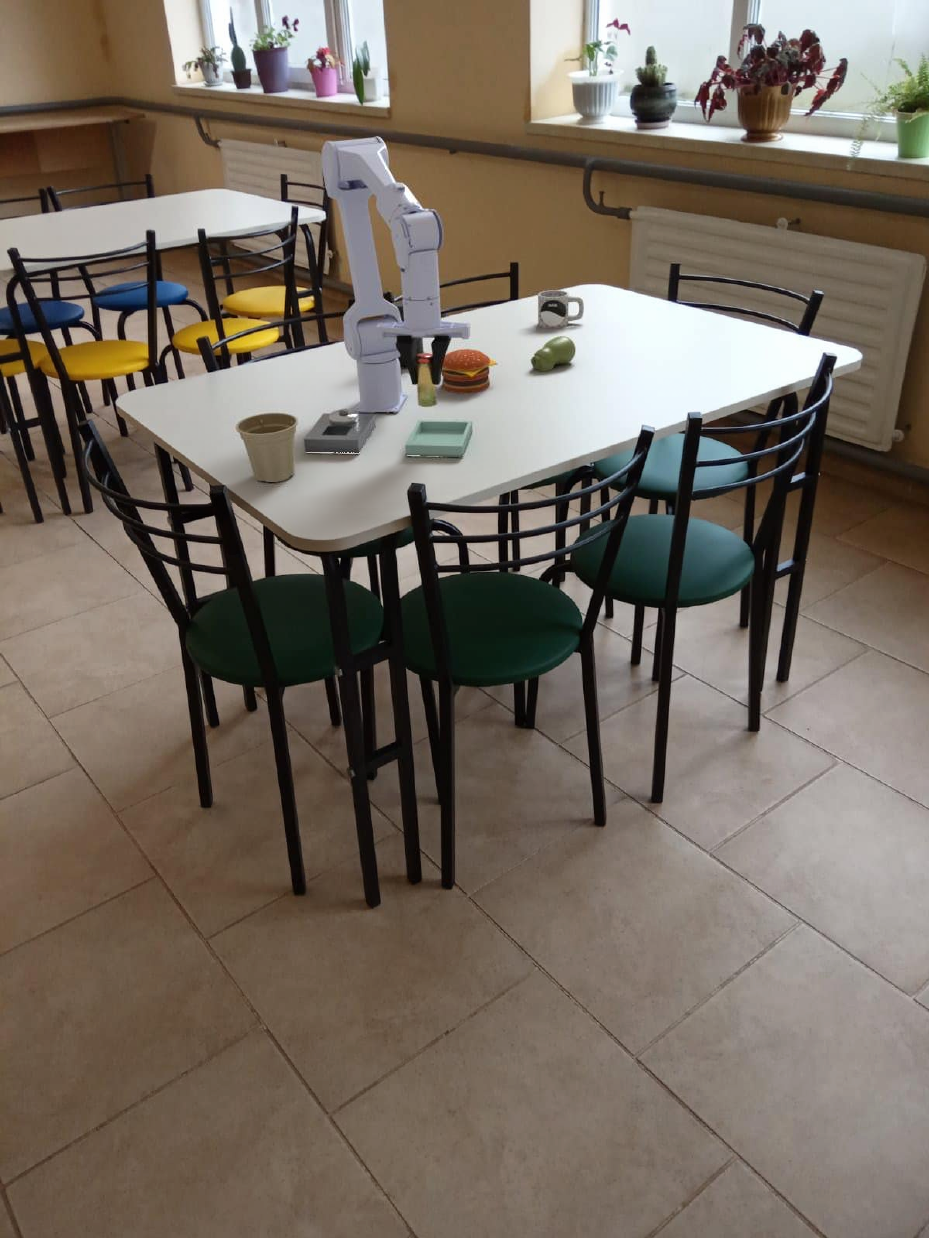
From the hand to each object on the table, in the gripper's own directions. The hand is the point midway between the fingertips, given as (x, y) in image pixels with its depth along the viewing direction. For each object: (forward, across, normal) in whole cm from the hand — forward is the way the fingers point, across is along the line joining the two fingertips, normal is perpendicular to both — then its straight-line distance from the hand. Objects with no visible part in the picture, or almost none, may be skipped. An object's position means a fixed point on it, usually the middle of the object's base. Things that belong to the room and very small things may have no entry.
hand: (426, 382), depth 164 cm
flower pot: (+11, -22, -14) cm, 28 cm away
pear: (+11, +17, +42) cm, 47 cm away
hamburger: (+11, +1, +30) cm, 32 cm away
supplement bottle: (+11, -13, +43) cm, 46 cm away
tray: (+10, +2, 0) cm, 11 cm away
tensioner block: (+10, -15, +1) cm, 19 cm away
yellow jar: (+3, 0, 0) cm, 3 cm away
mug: (+11, +16, +72) cm, 75 cm away
